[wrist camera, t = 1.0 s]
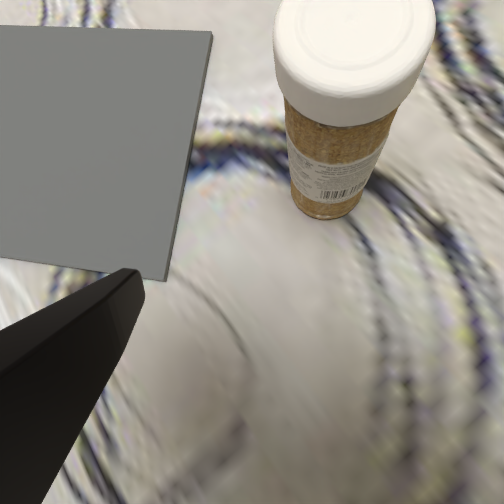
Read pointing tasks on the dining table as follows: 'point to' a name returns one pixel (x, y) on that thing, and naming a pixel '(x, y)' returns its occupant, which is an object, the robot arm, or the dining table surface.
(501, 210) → the dining table surface
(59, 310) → the robot arm
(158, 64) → the mat
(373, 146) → the sprinkles bottle
